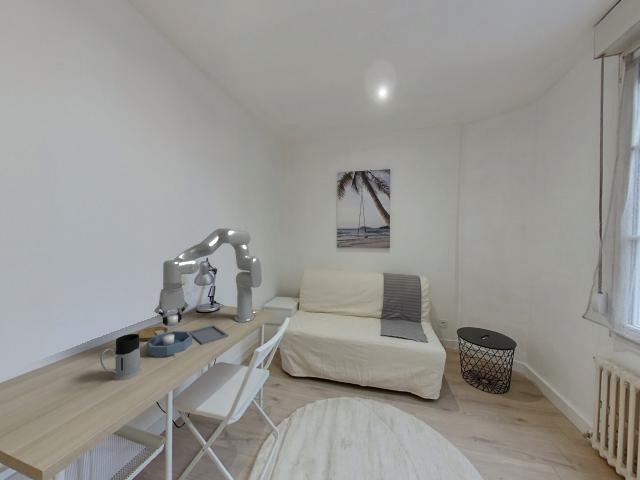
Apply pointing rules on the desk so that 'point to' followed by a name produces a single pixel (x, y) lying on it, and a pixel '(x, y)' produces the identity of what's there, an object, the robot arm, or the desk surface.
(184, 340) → the bowl
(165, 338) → the pebble
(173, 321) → the pebble
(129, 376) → the glass holder
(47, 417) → the desk surface
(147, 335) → the plant saucer
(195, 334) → the tray
